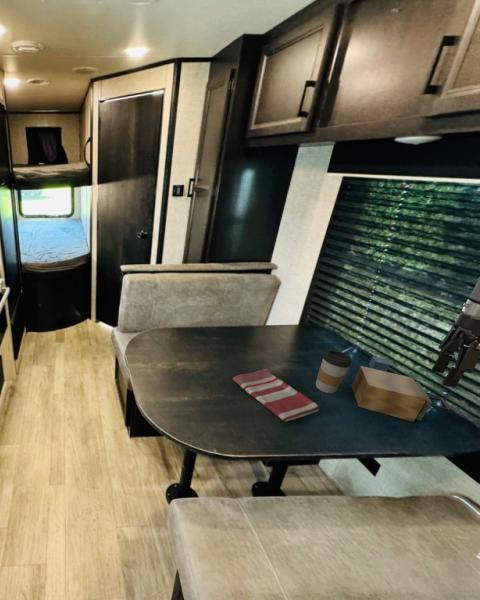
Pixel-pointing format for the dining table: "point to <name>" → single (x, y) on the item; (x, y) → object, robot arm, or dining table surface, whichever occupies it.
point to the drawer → (428, 404)
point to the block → (379, 364)
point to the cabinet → (388, 393)
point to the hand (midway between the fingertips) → (442, 378)
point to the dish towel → (276, 395)
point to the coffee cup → (332, 371)
